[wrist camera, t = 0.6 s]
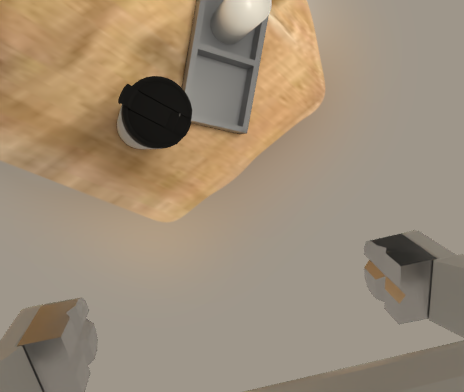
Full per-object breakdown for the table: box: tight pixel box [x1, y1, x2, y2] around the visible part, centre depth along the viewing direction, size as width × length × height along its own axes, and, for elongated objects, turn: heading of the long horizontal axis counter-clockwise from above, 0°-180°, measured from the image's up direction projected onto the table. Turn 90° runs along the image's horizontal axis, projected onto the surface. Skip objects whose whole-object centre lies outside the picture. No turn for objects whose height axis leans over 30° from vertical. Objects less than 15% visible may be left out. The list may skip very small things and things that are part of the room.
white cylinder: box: [211, 0, 272, 45], centre depth 46 cm, size 5×5×9 cm
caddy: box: [182, 0, 269, 134], centre depth 49 cm, size 20×10×3 cm, turn 169°
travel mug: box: [117, 76, 192, 149], centre depth 39 cm, size 6×7×20 cm
